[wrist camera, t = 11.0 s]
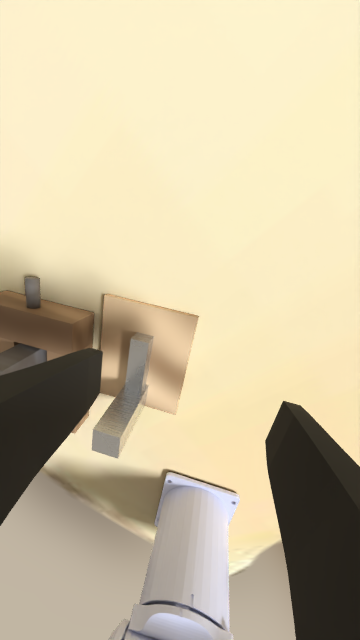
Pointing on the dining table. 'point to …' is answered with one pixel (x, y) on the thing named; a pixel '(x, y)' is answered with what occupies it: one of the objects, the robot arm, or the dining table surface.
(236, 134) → the dining table surface
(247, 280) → the dining table surface
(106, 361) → the cork mat
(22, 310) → the vise
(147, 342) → the grey l-shaped block
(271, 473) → the robot arm
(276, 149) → the dining table surface
